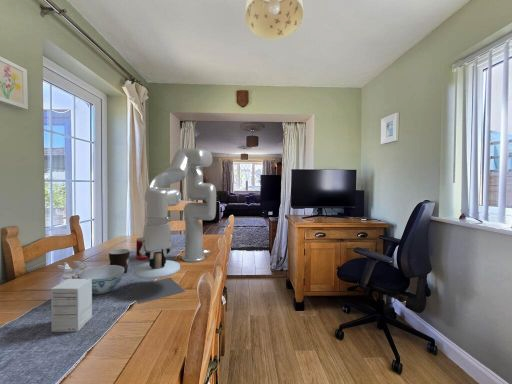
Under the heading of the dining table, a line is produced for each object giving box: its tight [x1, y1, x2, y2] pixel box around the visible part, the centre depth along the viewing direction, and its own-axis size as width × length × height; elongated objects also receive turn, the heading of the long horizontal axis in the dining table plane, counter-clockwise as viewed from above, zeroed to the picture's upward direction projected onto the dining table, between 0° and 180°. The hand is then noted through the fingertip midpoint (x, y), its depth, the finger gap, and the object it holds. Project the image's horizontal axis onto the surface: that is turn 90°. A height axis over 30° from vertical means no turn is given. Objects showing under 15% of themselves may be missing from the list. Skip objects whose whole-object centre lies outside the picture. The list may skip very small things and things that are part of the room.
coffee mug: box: [108, 248, 131, 275], centre depth 118 cm, size 12×9×10 cm
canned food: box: [135, 236, 149, 261], centre depth 139 cm, size 8×8×11 cm
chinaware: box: [78, 265, 125, 295], centre depth 97 cm, size 15×15×8 cm
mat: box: [128, 277, 187, 304], centre depth 99 cm, size 17×17×1 cm
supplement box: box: [50, 278, 93, 333], centre depth 74 cm, size 7×7×13 cm
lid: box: [133, 250, 181, 280], centre depth 99 cm, size 17×17×7 cm
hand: (157, 266), depth 99 cm, fingers closed on lid, 3 cm apart
